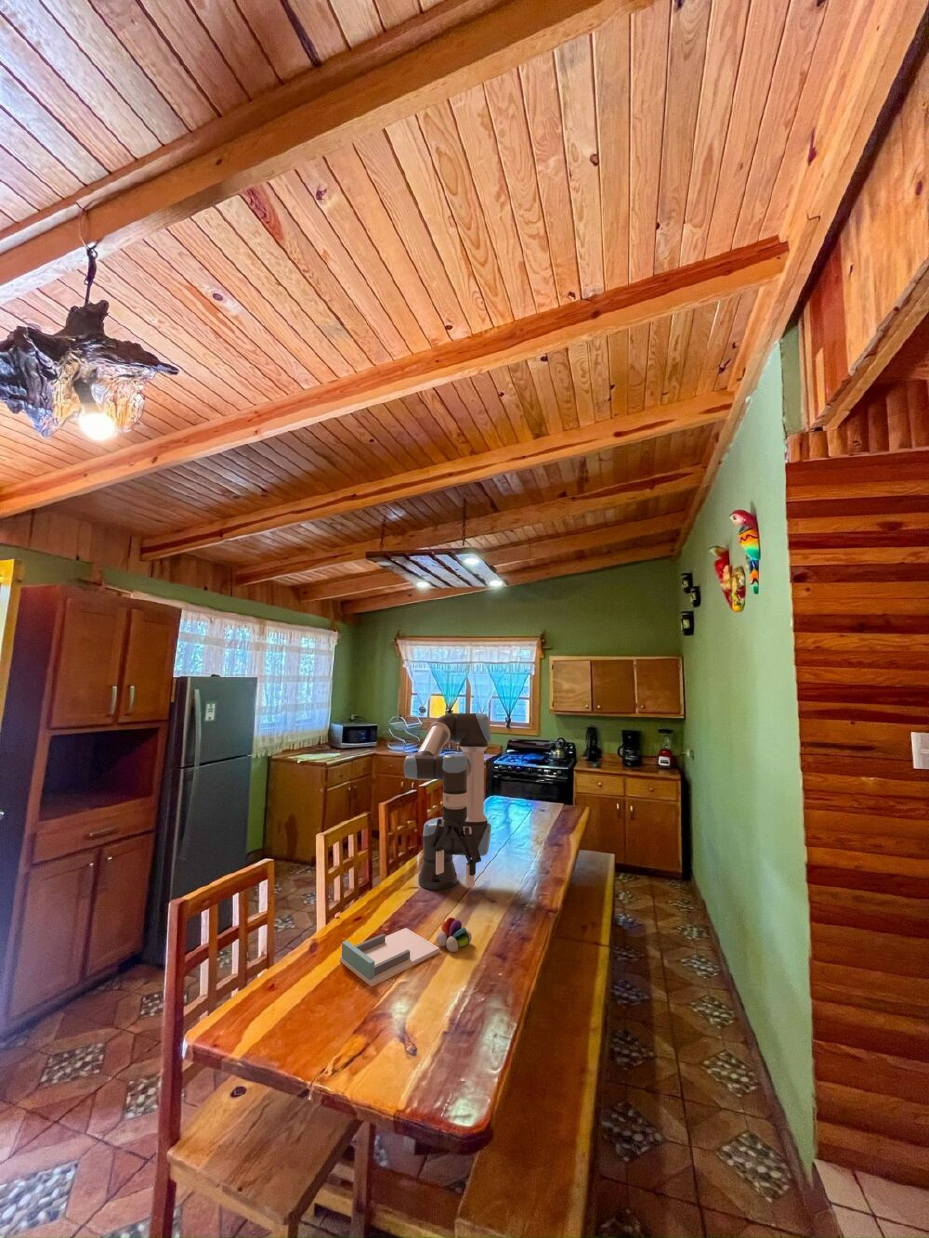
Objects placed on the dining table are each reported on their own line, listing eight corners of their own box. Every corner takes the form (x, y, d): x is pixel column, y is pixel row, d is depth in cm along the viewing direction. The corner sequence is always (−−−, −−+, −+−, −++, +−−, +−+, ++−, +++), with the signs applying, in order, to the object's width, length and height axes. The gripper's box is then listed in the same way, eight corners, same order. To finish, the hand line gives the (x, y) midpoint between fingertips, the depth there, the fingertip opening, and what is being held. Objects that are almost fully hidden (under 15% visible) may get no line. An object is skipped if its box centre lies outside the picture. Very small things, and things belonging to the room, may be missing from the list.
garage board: (405, 931, 151) (406, 914, 152) (439, 952, 140) (439, 932, 141) (339, 960, 136) (340, 941, 136) (371, 986, 124) (371, 964, 125)
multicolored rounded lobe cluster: (453, 933, 150) (453, 909, 151) (475, 946, 144) (475, 919, 144) (432, 944, 144) (433, 918, 145) (455, 957, 138) (455, 930, 139)
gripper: (419, 801, 155) (419, 871, 153) (474, 816, 138) (474, 896, 135) (437, 797, 161) (437, 865, 158) (492, 811, 143) (493, 888, 140)
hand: (454, 879), depth 146 cm, fingers open, 13 cm apart
